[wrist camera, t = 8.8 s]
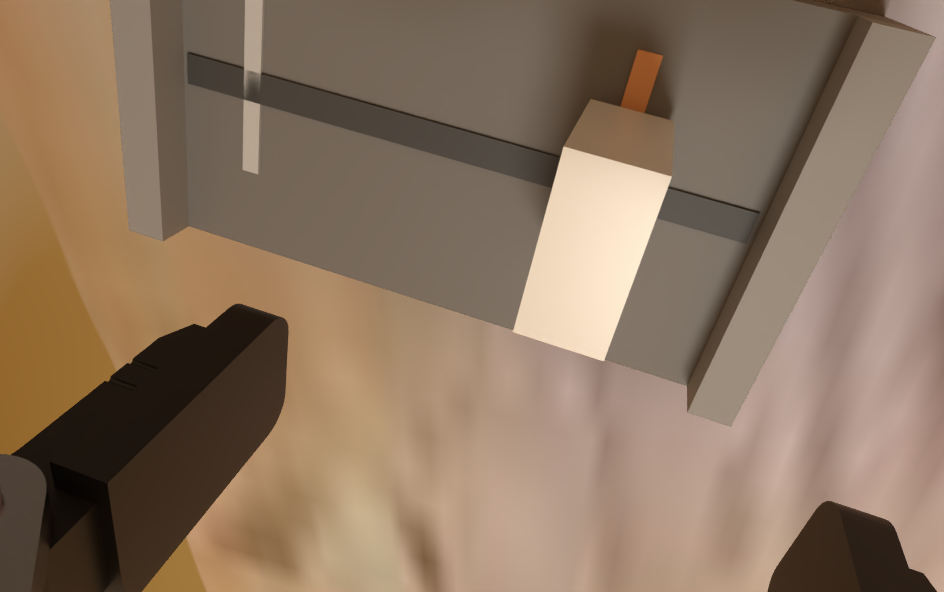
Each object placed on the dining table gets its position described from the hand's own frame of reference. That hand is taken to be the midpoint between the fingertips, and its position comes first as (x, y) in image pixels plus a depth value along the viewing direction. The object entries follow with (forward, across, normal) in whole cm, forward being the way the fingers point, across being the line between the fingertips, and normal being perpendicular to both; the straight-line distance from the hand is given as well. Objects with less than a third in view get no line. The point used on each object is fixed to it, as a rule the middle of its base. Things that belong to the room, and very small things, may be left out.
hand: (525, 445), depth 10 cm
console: (+15, +5, 0) cm, 16 cm away
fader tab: (+12, 0, 0) cm, 12 cm away
